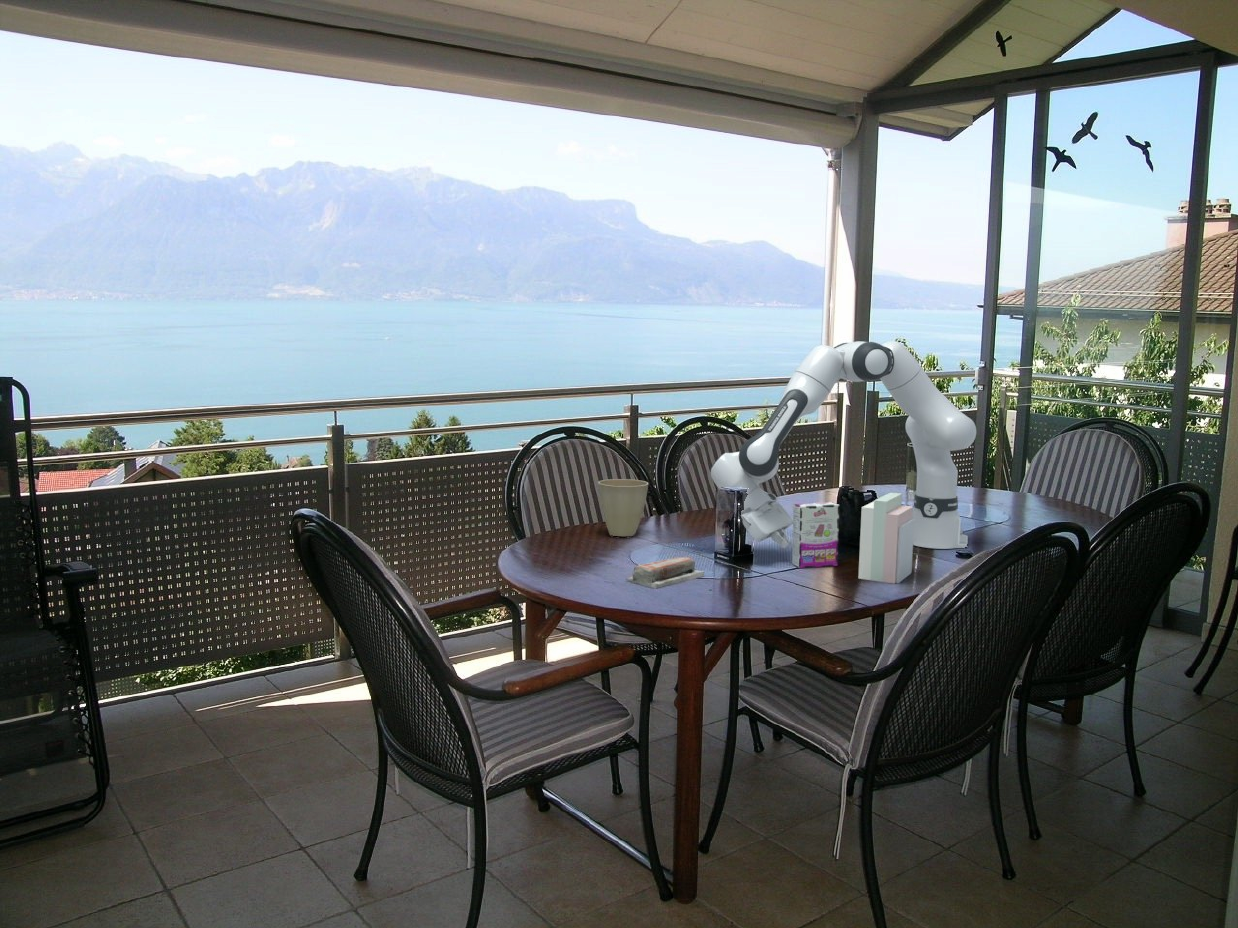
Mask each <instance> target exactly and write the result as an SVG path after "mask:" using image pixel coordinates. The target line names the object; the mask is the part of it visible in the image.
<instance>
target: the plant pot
mask: <svg viewBox="0 0 1238 928" xmlns="http://www.w3.org/2000/svg"><path fill="white" fill-rule="evenodd" d="M597 484H598V491H599V499H600V500H599V501H600V505H601V509H602V510H601V511H602V513H603V518H604V522H605V524H606V528H607V531H608V534H609V536H611V535H613V536H632V535H634V534H635V535H636V533H637V530H638V528H639V525H640V522H641V519H642V516H643V512H644V509H645V505H646V499H647V494H648V488H649V482H648V481H645V480H639V479H632V478H631V479H630V478H629V479H625V478H621V479H620V478H614V479H613V478H610V479H603V480H599V481H598V482H597ZM635 535H634V536H635ZM613 536H612V537H613Z"/></svg>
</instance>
